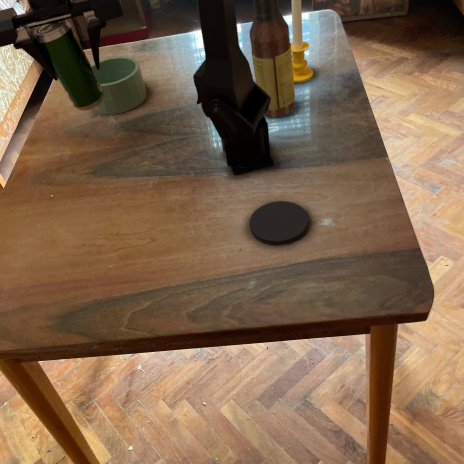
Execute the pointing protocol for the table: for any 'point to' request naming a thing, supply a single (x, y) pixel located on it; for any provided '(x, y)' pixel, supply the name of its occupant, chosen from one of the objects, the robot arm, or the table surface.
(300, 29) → the candle
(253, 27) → the sauce bottle
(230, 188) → the table surface
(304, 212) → the black coaster
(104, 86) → the pot
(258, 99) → the robot arm
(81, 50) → the beer can
